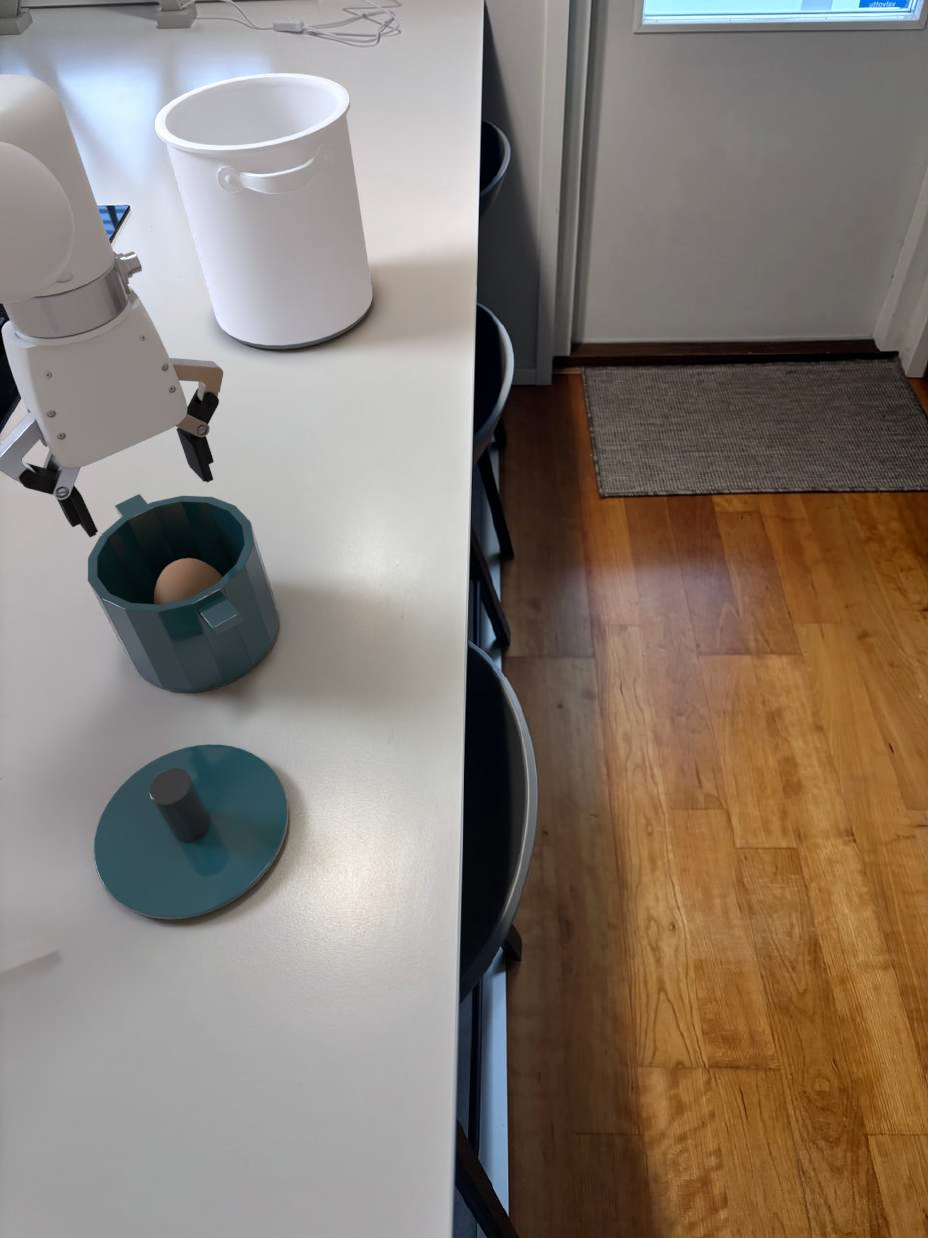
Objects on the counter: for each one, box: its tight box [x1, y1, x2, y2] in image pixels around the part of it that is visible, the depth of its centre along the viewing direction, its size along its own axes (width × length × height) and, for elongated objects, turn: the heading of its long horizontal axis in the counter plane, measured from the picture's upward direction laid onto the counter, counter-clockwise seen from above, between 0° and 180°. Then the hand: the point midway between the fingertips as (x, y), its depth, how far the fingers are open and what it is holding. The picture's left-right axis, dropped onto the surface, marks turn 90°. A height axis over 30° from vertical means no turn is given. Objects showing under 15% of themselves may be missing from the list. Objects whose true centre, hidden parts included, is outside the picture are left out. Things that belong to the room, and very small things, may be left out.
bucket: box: [154, 72, 373, 350], centre depth 114 cm, size 26×22×24 cm
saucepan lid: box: [93, 744, 289, 920], centre depth 70 cm, size 15×15×7 cm
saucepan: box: [87, 493, 280, 693], centre depth 82 cm, size 14×19×10 cm
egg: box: [154, 558, 223, 605], centre depth 83 cm, size 6×6×8 cm
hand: (145, 499), depth 74 cm, fingers open, 9 cm apart
